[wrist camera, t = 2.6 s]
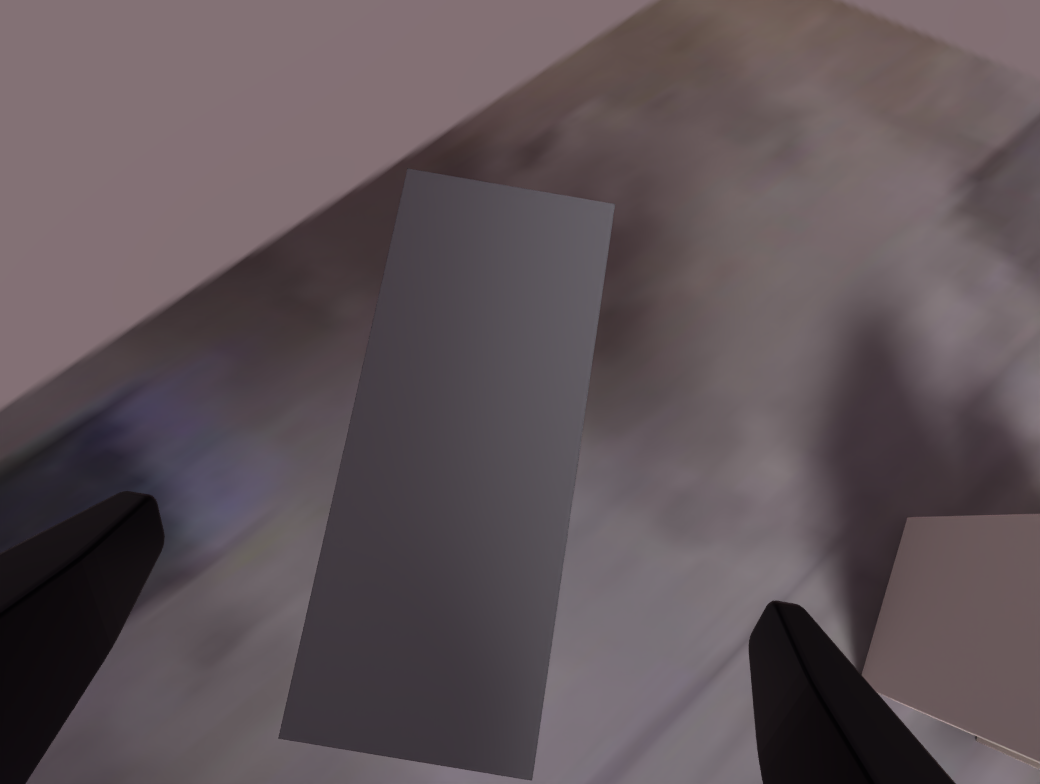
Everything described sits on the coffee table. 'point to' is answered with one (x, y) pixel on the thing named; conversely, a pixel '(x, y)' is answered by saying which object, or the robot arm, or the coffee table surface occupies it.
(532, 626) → the slate domino
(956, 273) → the coffee table surface
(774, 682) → the robot arm
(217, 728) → the coffee table surface
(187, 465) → the coffee table surface
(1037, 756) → the ivory domino
